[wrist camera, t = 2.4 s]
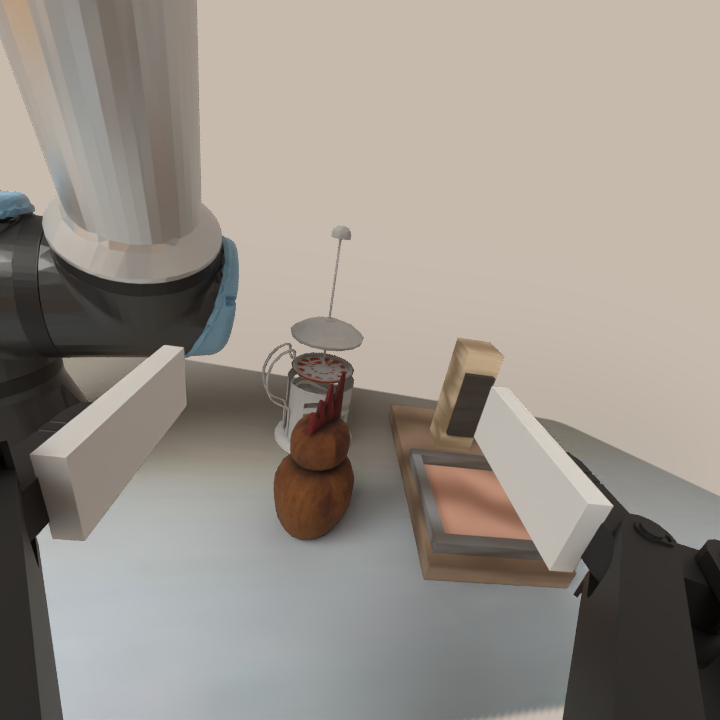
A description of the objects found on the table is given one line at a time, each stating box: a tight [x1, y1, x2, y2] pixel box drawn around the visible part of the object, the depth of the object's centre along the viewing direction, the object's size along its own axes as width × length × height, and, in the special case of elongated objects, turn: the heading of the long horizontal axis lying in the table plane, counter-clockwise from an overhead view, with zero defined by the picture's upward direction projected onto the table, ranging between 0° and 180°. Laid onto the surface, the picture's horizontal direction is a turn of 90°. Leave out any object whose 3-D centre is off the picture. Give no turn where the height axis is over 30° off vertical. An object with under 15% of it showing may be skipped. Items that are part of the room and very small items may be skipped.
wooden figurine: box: [274, 373, 354, 540], centre depth 29 cm, size 7×6×15 cm
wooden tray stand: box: [389, 338, 576, 588], centre depth 38 cm, size 24×13×15 cm, turn 3°
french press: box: [262, 226, 364, 453], centre depth 39 cm, size 10×12×25 cm
